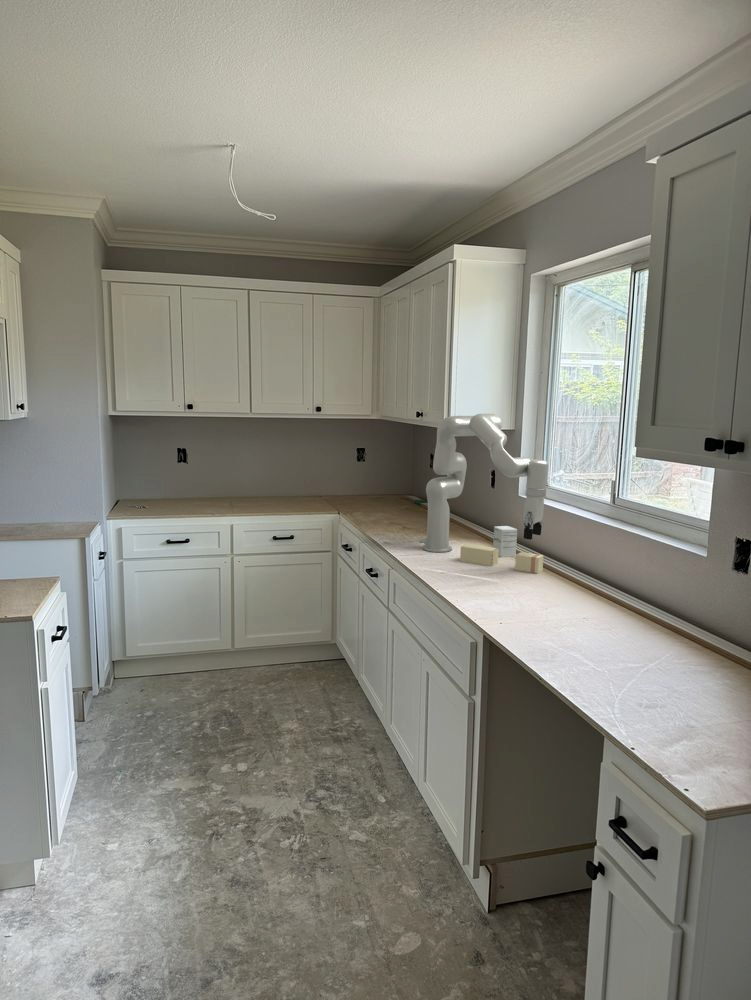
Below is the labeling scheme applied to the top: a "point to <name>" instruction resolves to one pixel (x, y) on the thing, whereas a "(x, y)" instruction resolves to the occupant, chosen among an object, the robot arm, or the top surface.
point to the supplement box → (505, 541)
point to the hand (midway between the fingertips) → (532, 536)
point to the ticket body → (479, 555)
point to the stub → (529, 562)
